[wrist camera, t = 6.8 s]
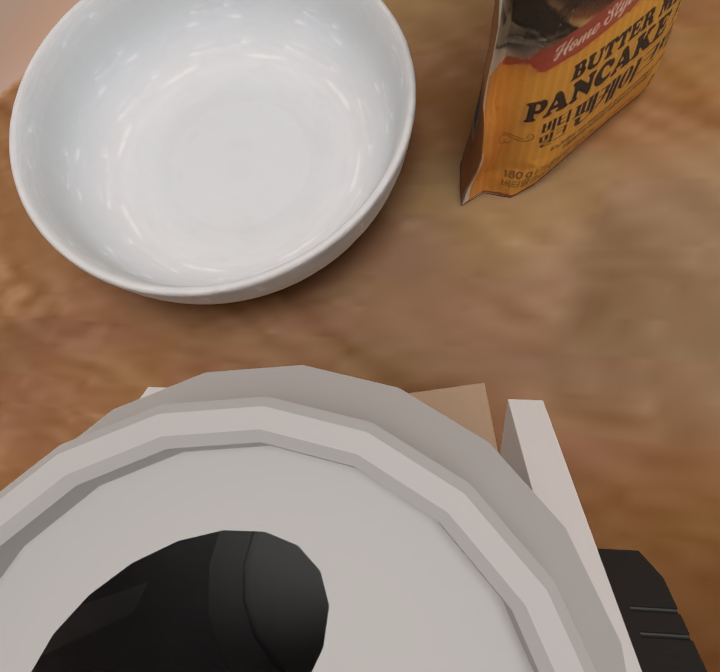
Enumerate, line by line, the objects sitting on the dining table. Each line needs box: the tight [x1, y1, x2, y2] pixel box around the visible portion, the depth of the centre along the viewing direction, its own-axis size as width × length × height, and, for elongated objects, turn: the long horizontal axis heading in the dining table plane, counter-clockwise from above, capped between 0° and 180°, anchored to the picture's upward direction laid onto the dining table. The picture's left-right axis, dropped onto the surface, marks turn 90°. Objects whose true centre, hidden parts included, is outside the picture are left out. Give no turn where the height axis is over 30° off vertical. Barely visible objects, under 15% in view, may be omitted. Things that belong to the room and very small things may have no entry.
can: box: [0, 365, 626, 672], centre depth 10 cm, size 8×8×12 cm
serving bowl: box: [9, 0, 416, 304], centre depth 30 cm, size 21×21×7 cm
